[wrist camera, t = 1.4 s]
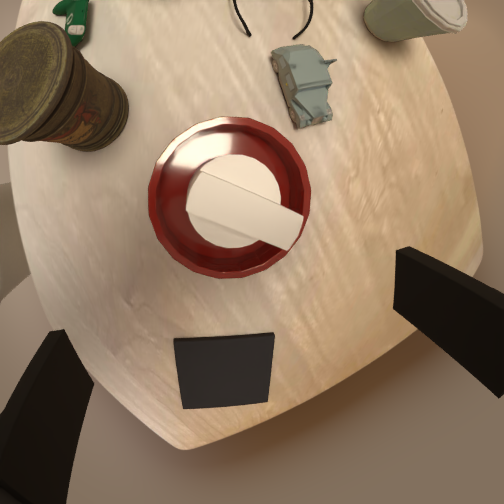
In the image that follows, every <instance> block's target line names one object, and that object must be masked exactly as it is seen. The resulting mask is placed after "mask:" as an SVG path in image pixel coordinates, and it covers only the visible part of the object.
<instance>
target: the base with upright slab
mask: <svg viewBox="0 0 504 504" xmlns="http://www.w3.org/2000/svg"><path fill="white" fill-rule="evenodd" d="M280 202H281V195H280V190H279V186H278V183H277V181H276V179H275V177H274V175H273V174H272V173H271V171H270V170H269V169H268V168H267V167H266V166H265V165H264V164H262V163H261V162H259V161H258V160H256V159H254V158H251V157H248V156H245V155H231V154H230V155H225V156H220V157H216V158H212V159H210V160H209V161H207V162H205V163H203V164H202V165H201V166H200V167H199V168H198V169H197V170H196V171H195V173H194V174H193V176H192V178H191V179H190V182H189V186H188V190H187V200H186V211H188V215H189V218H190V221H191V223H192V225H193V226H194V228H195V230H196V231H197V232H198V233H199V234H200V235H201V236H202V237H203V238H204V239H205V240H207V241H209V242H211V243H213V244H214V245H217V246H221V247H225V248H241V247H244V246H248V245H251V244H253V243H255V242H256V241H258V240H262V241H264V242H267V243H269V244H272V245H274V246H277V247H279V248H282V249H284V250H286V251H288V250H289V249H290V248H291V246H292V244H293V243H294V241H295V240H296V238H297V237H298V235H299V232H300V229H301V226H302V223H303V216H302V215H300V214H298V213H296V212H294V211H292V210H290V209H288V208H286V207H284V206H282V205H280Z"/></svg>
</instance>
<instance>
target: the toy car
mask: <svg viewBox="0 0 504 504" xmlns="http://www.w3.org/2000/svg"><path fill="white" fill-rule="evenodd" d="M271 54H272V57H273V58H274V59H273V61H272V65H273V69H274V70H275V72H276V73H279V82H280V85H281V87H282V90H283V93H284V96H285V99H286V102H287V105H288V107H290V106H291V107H290V109H289V113H290V117H291V119H292V120H293V121H294V122H296V125H297V128H302V127H306V126H310V125H314V124H318V123H322V122H326V121H330V120H332V116H333V113H332V110H331V107H330V106H329V104H328V103H327V96H328V89H329V87H330V86H331V84H332V81H331V78H330V75H329V72H328V69H327V68H328V67H329V65H330V64H331V63H333V62H335V61H337V59H332V60H324V59H323V58H322V56H321V55H320V54H319V52H318V51H317V50H316V49H314V48H313V47H311V46H305V45H303V44H301V45H293V46H286V47H280V48H277V49H275V50H273V51H272V52H271Z"/></svg>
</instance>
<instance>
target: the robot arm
mask: <svg viewBox="0 0 504 504" xmlns="http://www.w3.org/2000/svg"><path fill="white" fill-rule="evenodd" d="M393 309H394V310H395V311H396V312H398V313H399V314H400V315H401V316H403V317H404V318H405V319H406V320H408V321H409V322H410V323H411V324H413V325H414V326H415V327H416V328H418V329H419V330H420V331H421V332H422V333H424V334H425V335H426V336H427V337H429V338H430V339H431V340H432V341H433V342H435V343H436V344H437V345H438V346H439V347H441V348H442V349H443V350H444V351H445V352H446V353H448V354H449V355H450V356H451V357H452V358H454V359H455V360H456V361H457V362H458V363H459V364H460V365H462V366H463V367H464V368H465V369H466V370H468V371H469V372H470V373H471V374H472V375H473V376H474V377H475V378H477V379H478V380H479V381H480V382H481V383H482V384H483V385H484V386H486V387H487V388H488V389H489V390H490V391H491V392H492V393H493V394H494V395H495V396H497V397H498V398H500V397H501V396H502V395H503V394H504V294H503V293H501V292H499V291H498V290H496V289H494V288H491V287H489V286H487V285H486V284H484V283H482V282H480V281H478V280H476V279H474V278H473V277H471V276H469V275H467V274H465V273H463V272H461V271H459V270H457V269H455V268H453V267H451V266H449V265H447V264H445V263H443V262H441V261H439V260H437V259H435V258H433V257H431V256H429V255H427V254H425V253H423V252H421V251H418V250H416V249H414V248H412V247H410V246H409V247H405V248H402V249H399V250H396V266H395V289H394V303H393ZM93 386H94V382H93V381H92V379H91V377H90V376H89V374H88V372H87V371H86V369H85V367H84V365H83V364H82V362H81V360H80V358H79V357H78V355H77V353H76V351H75V349H74V347H73V345H72V344H71V342H70V340H69V338H68V336H67V334H66V332H65V330H64V329H62V330H56V331H50V332H49V333H48V335H47V336H46V338H45V339H44V341H43V342H42V344H41V346H40V347H39V349H38V350H37V352H36V354H35V355H34V357H33V359H32V360H31V362H30V363H29V365H28V367H27V369H26V370H25V372H24V374H23V375H22V377H21V379H20V381H19V382H18V384H17V386H16V388H15V390H14V392H13V393H12V395H11V397H10V399H9V401H8V403H7V405H6V407H5V409H4V410H3V412H2V413H1V414H0V504H66V500H67V494H68V488H69V482H70V477H71V471H72V467H73V461H74V457H75V453H76V448H77V444H78V440H79V436H80V432H81V428H82V424H83V421H84V417H85V413H86V410H87V406H88V403H89V399H90V396H91V393H92V389H93Z"/></svg>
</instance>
